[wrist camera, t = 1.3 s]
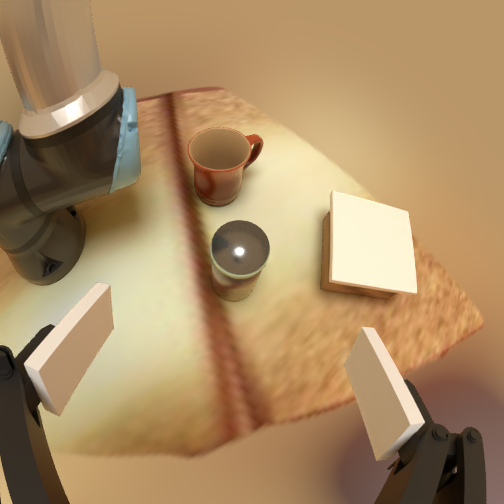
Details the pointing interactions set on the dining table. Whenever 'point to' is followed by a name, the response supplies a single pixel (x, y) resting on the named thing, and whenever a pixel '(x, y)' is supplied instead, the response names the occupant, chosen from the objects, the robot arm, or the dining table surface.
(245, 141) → the mug
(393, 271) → the pedestal
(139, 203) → the dining table surface
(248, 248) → the grey can
